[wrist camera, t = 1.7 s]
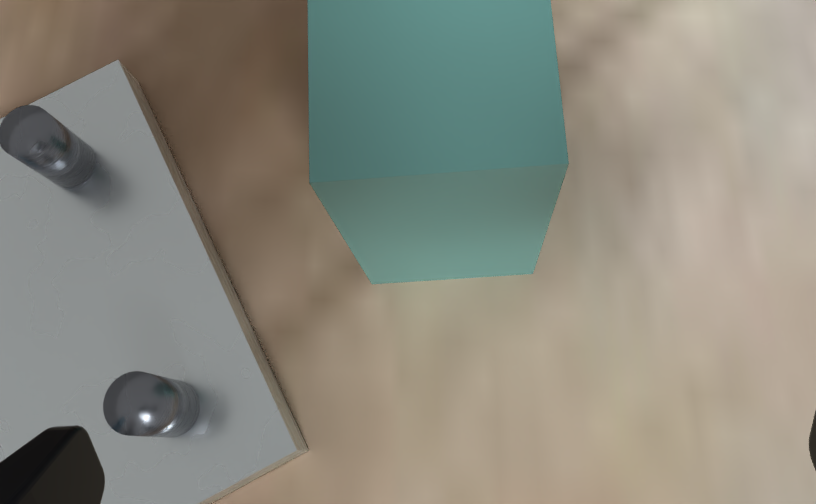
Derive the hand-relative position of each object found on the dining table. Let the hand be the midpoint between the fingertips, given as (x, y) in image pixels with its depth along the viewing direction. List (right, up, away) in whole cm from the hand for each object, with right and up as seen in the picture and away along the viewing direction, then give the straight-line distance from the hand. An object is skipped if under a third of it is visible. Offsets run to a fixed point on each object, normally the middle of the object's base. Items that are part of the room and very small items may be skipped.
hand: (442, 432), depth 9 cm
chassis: (-13, -1, +14) cm, 19 cm away
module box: (+1, +4, +14) cm, 15 cm away
